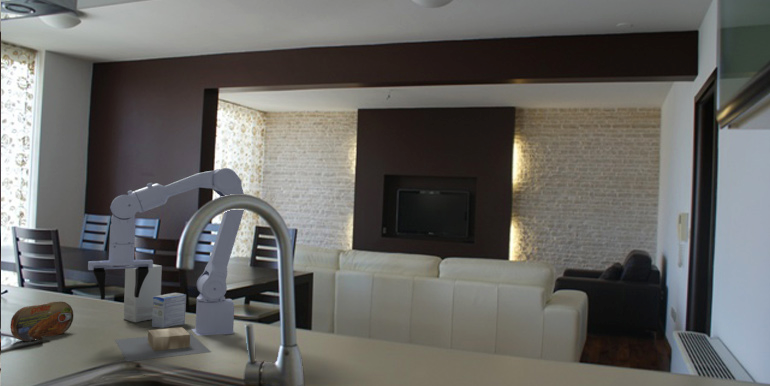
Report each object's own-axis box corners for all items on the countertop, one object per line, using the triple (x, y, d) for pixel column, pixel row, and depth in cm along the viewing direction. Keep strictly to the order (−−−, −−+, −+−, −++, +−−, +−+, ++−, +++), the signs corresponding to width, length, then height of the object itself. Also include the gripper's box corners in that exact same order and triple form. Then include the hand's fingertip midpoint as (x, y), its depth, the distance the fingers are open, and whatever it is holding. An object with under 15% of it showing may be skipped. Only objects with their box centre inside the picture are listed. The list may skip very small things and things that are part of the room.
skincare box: (148, 315, 168) (150, 263, 168) (161, 318, 164) (163, 265, 164) (121, 319, 161) (124, 265, 161) (134, 323, 157) (137, 267, 158)
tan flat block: (147, 342, 136) (181, 339, 140) (153, 350, 129) (189, 347, 133) (148, 330, 136) (182, 327, 140) (154, 337, 129) (190, 334, 133)
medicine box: (173, 322, 160) (175, 292, 160) (185, 324, 158) (186, 294, 158) (151, 328, 153) (152, 296, 153) (163, 330, 151) (164, 298, 151)
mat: (190, 334, 147) (190, 332, 147) (211, 354, 130) (211, 351, 130) (114, 342, 137) (114, 339, 137) (126, 364, 120) (126, 361, 120)
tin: (15, 344, 132) (17, 309, 132) (7, 343, 133) (8, 307, 133) (73, 331, 145) (75, 299, 146) (65, 330, 147) (66, 298, 147)
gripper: (150, 241, 147) (148, 293, 147) (88, 242, 139) (85, 296, 139) (155, 244, 141) (153, 298, 141) (90, 244, 133) (88, 301, 133)
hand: (119, 297), depth 139 cm, fingers open, 7 cm apart
